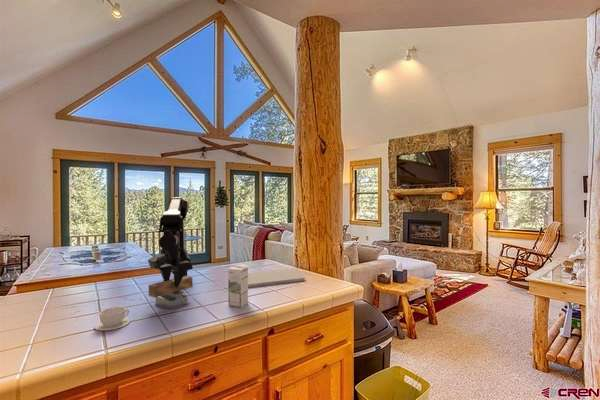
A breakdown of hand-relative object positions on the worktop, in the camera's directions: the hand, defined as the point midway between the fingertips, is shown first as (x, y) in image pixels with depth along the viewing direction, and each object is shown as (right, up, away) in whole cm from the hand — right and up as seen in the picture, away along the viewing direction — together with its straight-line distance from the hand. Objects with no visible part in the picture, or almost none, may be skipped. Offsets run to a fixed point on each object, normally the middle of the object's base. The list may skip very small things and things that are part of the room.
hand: (171, 285), depth 116 cm
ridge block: (0, -7, 0) cm, 7 cm away
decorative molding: (+35, -8, +31) cm, 47 cm away
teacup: (-11, -8, -19) cm, 23 cm away
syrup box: (+26, -7, -1) cm, 27 cm away
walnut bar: (0, -2, 0) cm, 2 cm away
